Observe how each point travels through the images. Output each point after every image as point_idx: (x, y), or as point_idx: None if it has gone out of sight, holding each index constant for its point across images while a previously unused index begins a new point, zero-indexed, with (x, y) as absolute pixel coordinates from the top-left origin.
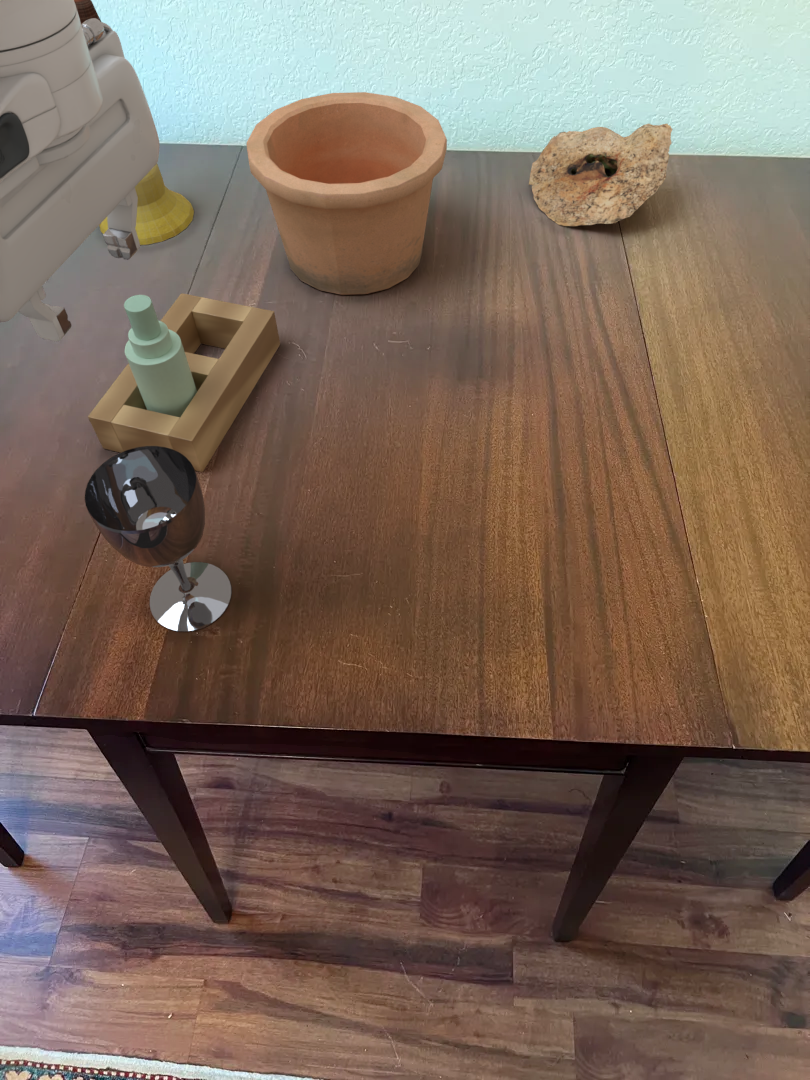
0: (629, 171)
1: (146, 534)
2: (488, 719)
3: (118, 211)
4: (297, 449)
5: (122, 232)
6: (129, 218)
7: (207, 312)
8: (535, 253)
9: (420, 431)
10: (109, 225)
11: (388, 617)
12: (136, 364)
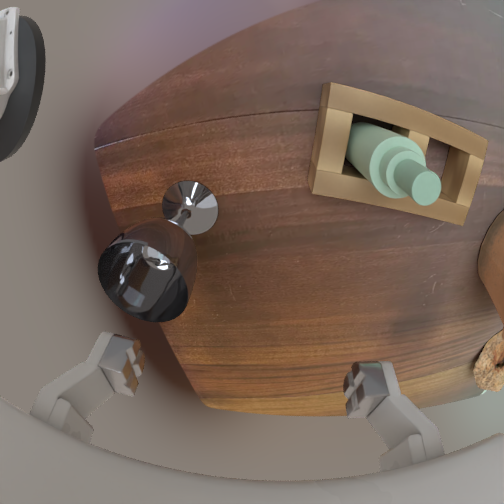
0: (491, 374)
1: (112, 294)
2: (175, 348)
3: (394, 430)
4: (337, 245)
5: (368, 411)
6: (379, 433)
7: (468, 169)
8: (476, 335)
9: (353, 313)
10: (388, 401)
11: (210, 314)
12: (371, 156)
